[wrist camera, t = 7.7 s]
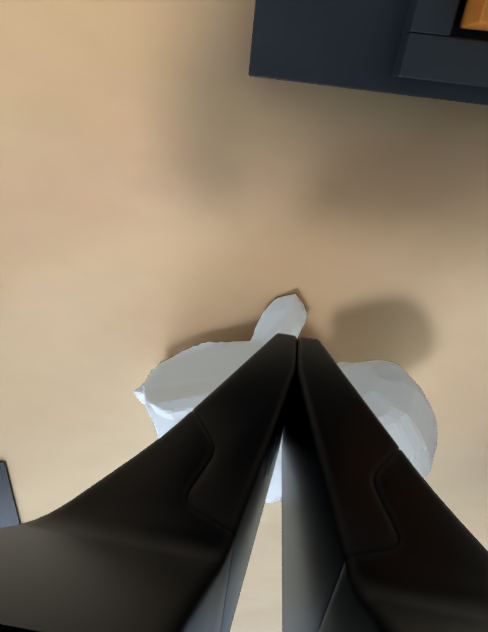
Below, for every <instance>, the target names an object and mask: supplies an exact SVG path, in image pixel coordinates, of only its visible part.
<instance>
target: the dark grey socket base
mask: <svg viewBox="0 0 488 632" xmlns="http://www.w3.org/2000/svg"><path fill="white" fill-rule="evenodd" d="M466 2H467V0H256V2H255V13H254V23H253V34H252V45H251V55H250V66H249V76H254V77H262V78H270V79H278V80H286V81H294V82H302V83H311V84H319V85H327V86H335V87H343V88H351V89H359V90H368V91H376V92H384V93H392V94H400V95H408V96H416V97H425V98H433V99H441V100H449V101H457V102H465V103H473V104H482V105H488V32H487V31H478V30H469V29H461V28H460V22H461V19H462V15H463V12H464V8H465V5H466Z"/></svg>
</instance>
